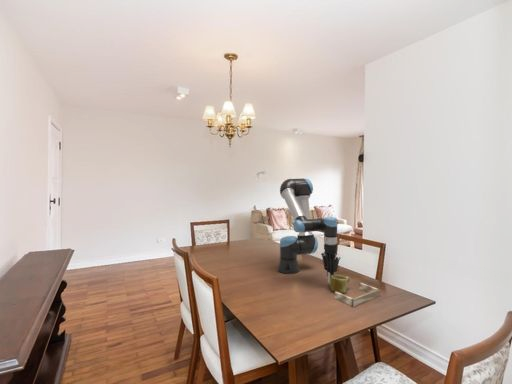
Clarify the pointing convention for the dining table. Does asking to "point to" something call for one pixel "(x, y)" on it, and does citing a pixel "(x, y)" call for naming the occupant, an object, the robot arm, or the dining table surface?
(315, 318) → the dining table surface
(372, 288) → the cradle
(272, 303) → the dining table surface
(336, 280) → the mug
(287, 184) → the robot arm
